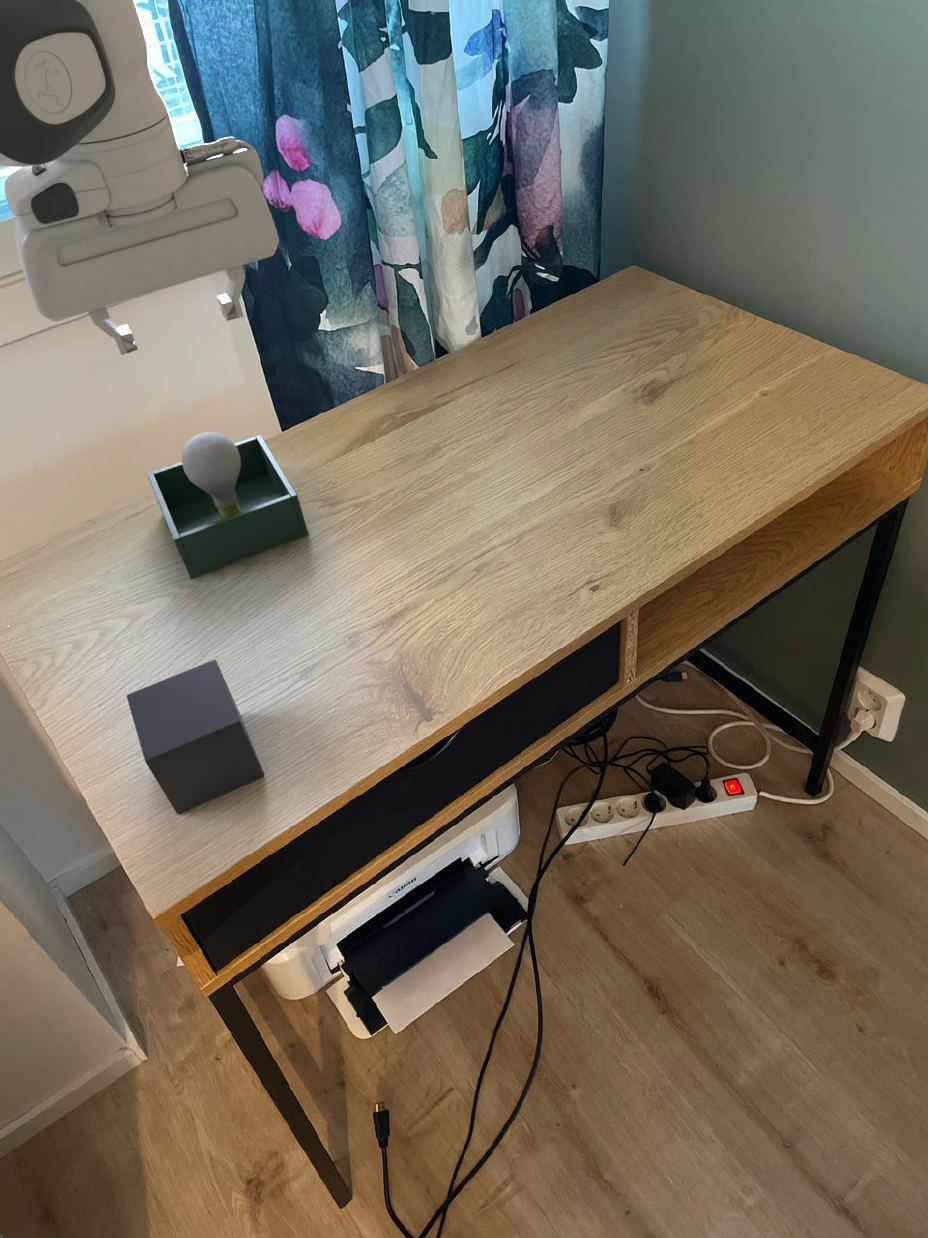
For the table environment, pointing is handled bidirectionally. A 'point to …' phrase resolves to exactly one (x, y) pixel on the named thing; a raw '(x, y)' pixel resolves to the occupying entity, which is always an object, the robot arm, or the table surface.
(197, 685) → the block
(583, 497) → the table surface
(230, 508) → the light bulb
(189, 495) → the green open square box
